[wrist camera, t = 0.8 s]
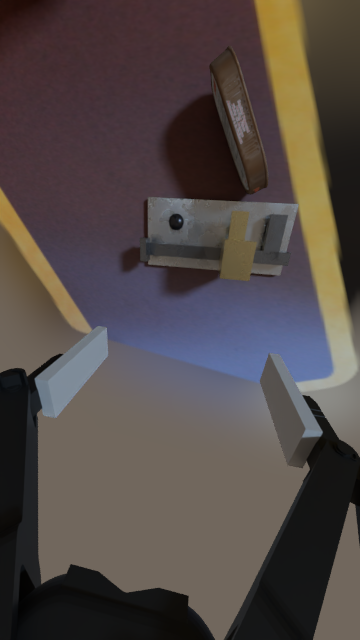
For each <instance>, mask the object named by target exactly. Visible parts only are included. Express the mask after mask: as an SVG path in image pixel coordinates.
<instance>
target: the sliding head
mask: <svg viewBox="0 0 360 640" xmlns="http://www.w3.org/2000/svg"><path fill="white" fill-rule="evenodd" d="M248 217H249V212H247V211H232V212H231V219H230V226H229V233H228V239H226V238H222V246H221V253H220V261H219V268H218V271H219V276H220V278H222V279H234V280H245V281H249V279H250V274H251V269H252V264H253V259H254V254H255V249H256V244H257V242H254V241H250V240H245V234H246V229H247V223H248Z"/></svg>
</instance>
